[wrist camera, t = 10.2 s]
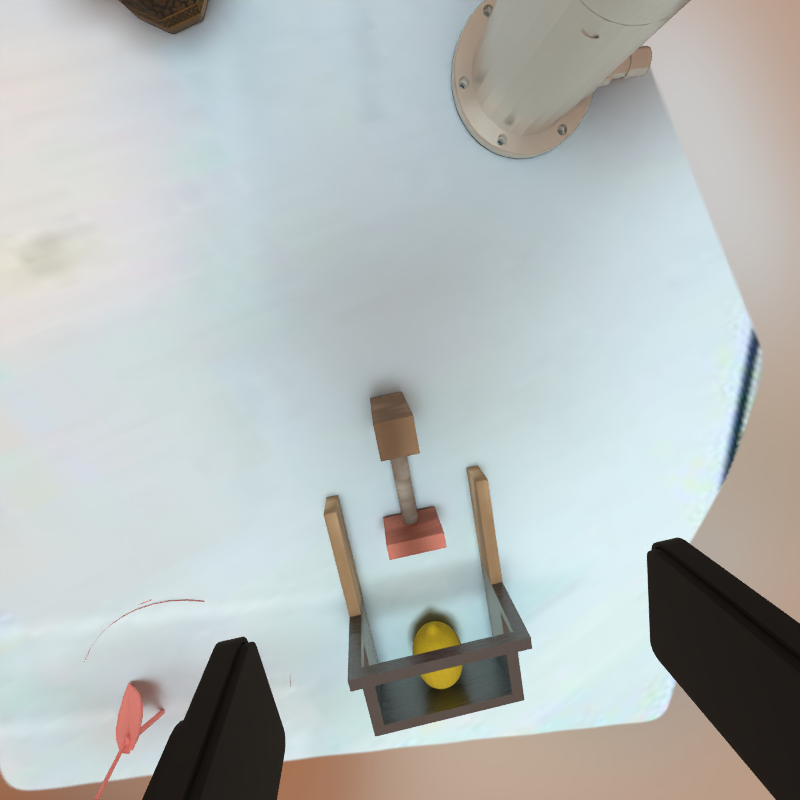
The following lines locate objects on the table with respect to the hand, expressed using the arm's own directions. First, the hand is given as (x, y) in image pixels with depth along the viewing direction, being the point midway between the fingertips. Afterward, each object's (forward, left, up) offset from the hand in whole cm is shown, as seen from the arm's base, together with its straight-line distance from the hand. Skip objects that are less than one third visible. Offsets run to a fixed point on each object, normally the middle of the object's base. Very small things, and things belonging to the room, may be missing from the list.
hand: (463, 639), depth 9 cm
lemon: (0, +27, -30) cm, 40 cm away
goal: (0, +29, -32) cm, 43 cm away
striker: (0, +9, -32) cm, 33 cm away
